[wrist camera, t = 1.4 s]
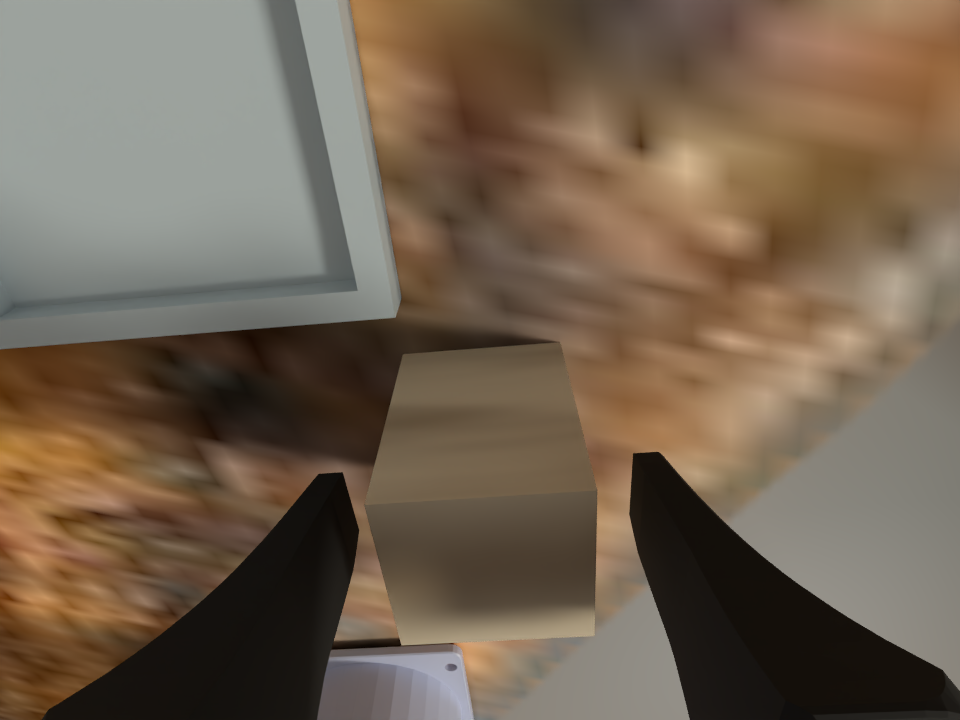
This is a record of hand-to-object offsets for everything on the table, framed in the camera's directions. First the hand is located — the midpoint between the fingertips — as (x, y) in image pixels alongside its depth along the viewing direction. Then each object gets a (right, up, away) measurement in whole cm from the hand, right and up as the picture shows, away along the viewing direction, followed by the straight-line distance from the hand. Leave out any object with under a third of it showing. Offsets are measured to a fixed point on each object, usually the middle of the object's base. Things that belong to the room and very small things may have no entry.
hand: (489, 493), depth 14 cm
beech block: (0, +2, +3) cm, 4 cm away
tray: (-8, +9, -1) cm, 13 cm away
